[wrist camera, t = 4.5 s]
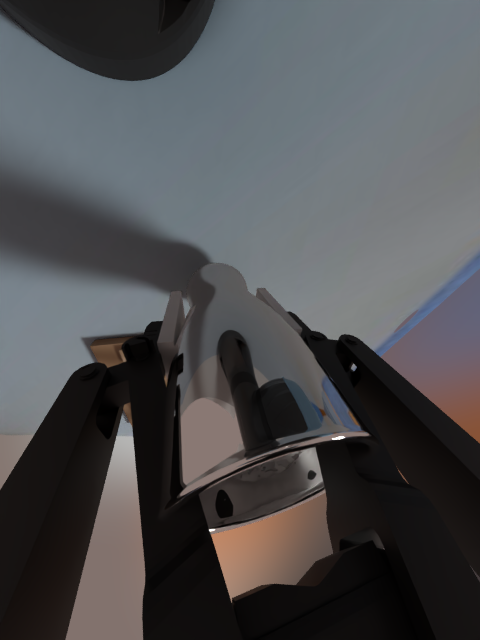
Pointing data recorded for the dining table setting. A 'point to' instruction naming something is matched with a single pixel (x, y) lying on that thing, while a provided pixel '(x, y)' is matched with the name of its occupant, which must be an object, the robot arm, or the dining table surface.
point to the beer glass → (246, 408)
